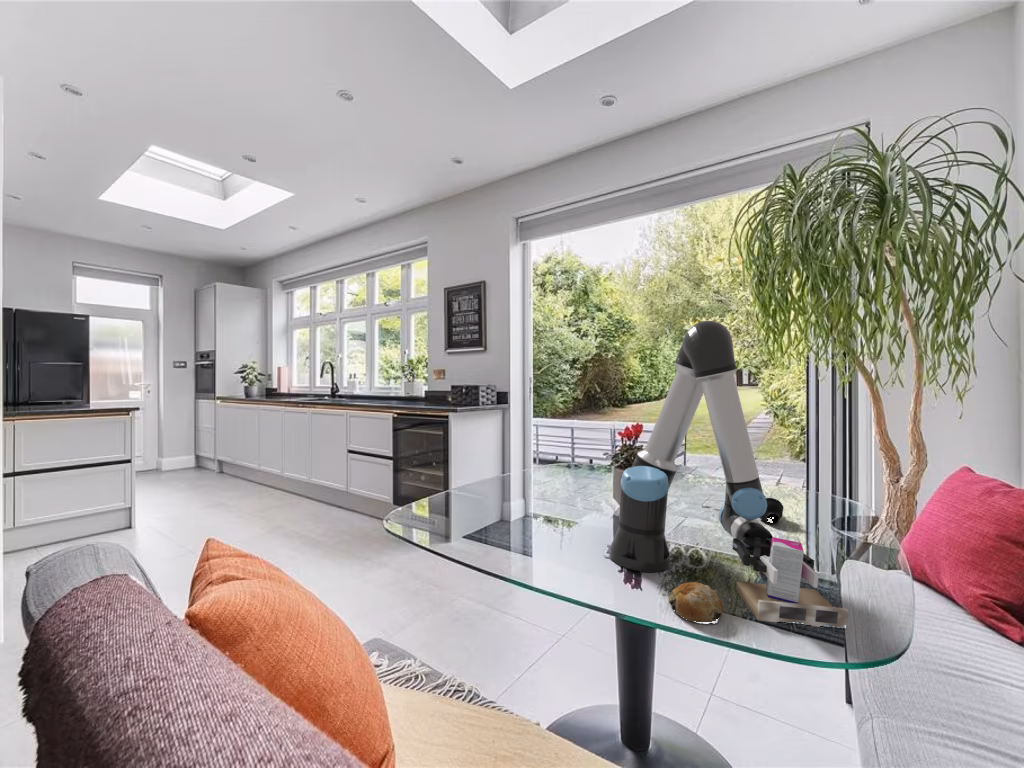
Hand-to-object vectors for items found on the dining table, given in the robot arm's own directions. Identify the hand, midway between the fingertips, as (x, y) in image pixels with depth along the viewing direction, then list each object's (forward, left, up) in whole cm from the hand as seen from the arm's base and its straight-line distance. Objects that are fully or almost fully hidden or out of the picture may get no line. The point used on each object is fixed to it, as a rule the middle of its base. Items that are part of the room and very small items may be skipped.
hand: (795, 578), depth 97 cm
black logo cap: (+41, +61, -10) cm, 74 cm away
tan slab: (+4, +6, -10) cm, 12 cm away
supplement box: (+1, +5, -6) cm, 8 cm away
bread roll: (-18, +6, -10) cm, 21 cm away
